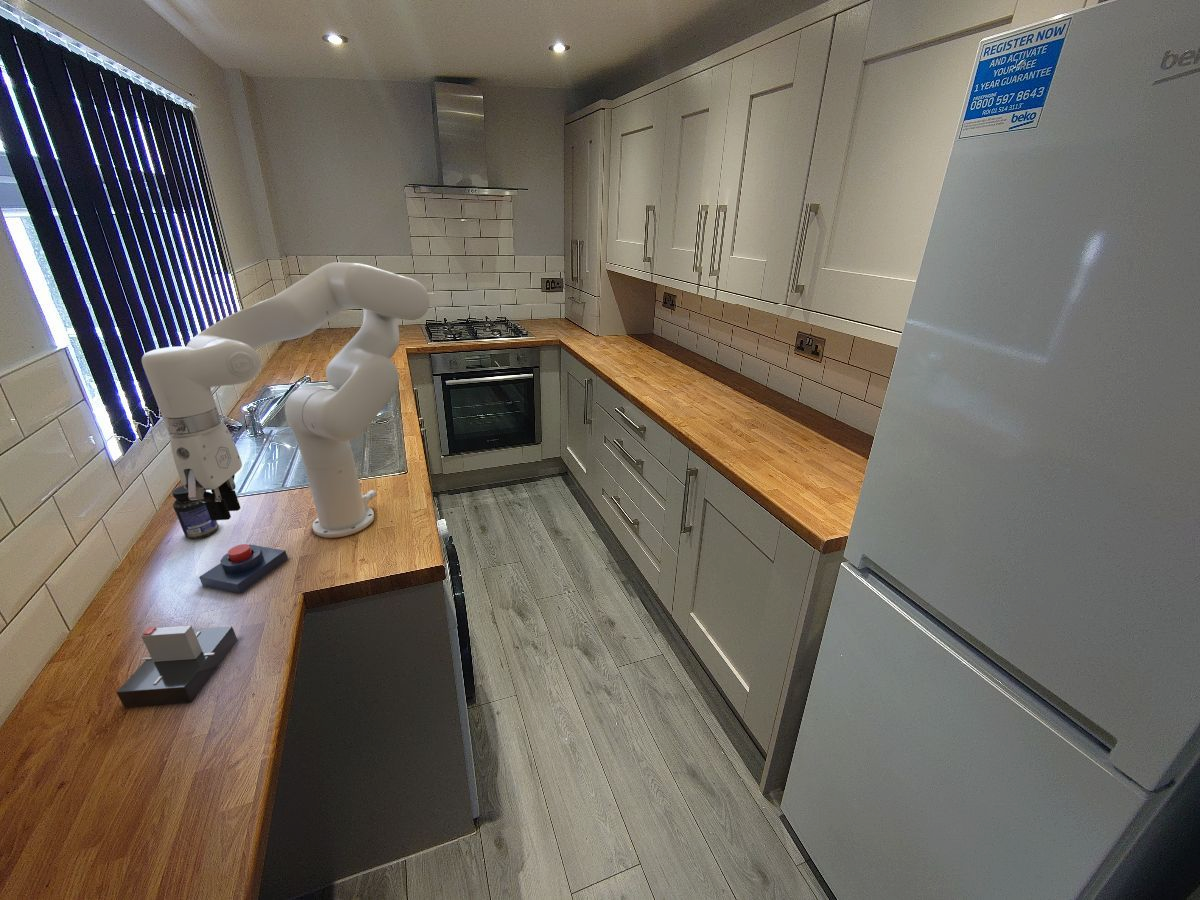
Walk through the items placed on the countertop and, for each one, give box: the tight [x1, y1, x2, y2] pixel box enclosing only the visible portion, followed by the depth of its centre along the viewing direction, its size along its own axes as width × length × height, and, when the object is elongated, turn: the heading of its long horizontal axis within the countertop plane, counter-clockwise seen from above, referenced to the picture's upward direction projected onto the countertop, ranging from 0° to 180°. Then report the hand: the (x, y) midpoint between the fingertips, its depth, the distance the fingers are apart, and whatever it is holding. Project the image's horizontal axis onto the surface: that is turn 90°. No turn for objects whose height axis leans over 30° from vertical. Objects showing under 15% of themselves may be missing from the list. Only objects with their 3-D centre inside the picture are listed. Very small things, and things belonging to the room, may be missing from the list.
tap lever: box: [140, 625, 202, 662], centre depth 77 cm, size 6×2×5 cm, turn 95°
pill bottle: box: [171, 485, 220, 540], centre depth 113 cm, size 6×6×11 cm
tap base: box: [116, 625, 238, 709], centre depth 79 cm, size 12×10×3 cm
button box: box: [198, 543, 289, 595], centre depth 101 cm, size 11×9×4 cm
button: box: [227, 543, 252, 562], centre depth 100 cm, size 4×4×2 cm
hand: (226, 514), depth 96 cm, fingers closed
